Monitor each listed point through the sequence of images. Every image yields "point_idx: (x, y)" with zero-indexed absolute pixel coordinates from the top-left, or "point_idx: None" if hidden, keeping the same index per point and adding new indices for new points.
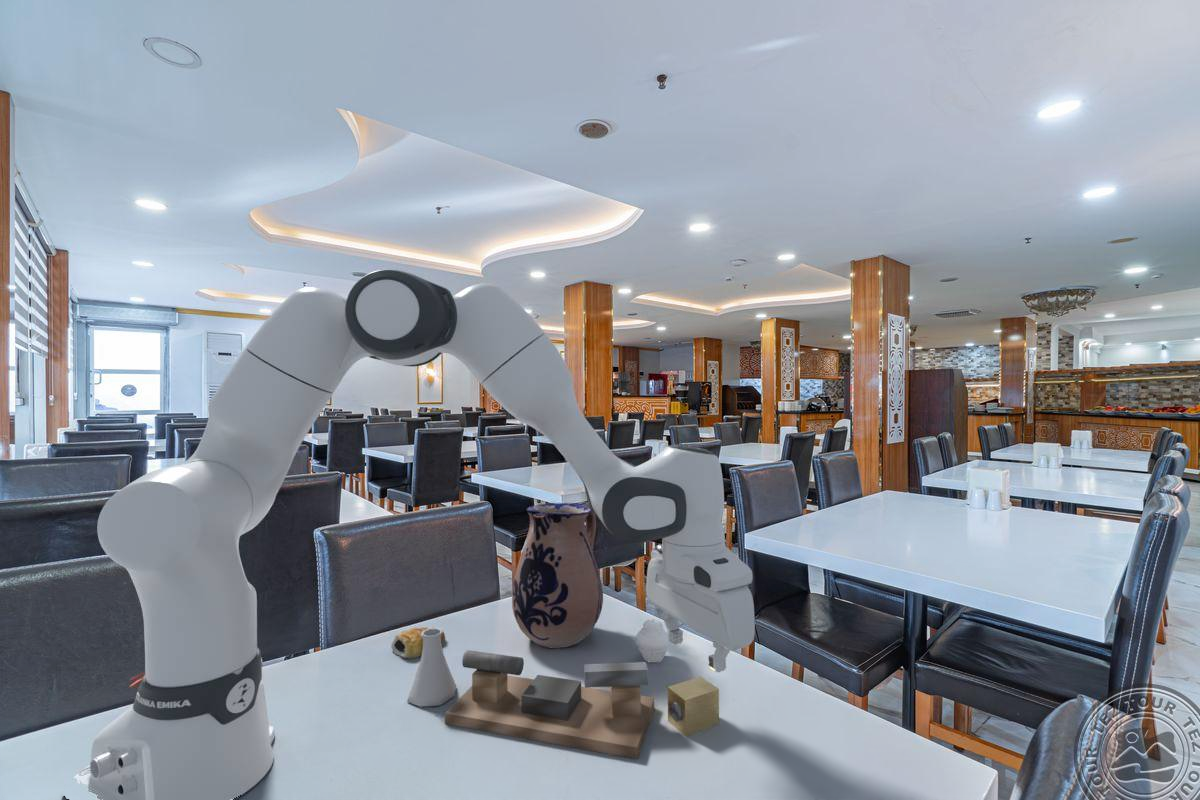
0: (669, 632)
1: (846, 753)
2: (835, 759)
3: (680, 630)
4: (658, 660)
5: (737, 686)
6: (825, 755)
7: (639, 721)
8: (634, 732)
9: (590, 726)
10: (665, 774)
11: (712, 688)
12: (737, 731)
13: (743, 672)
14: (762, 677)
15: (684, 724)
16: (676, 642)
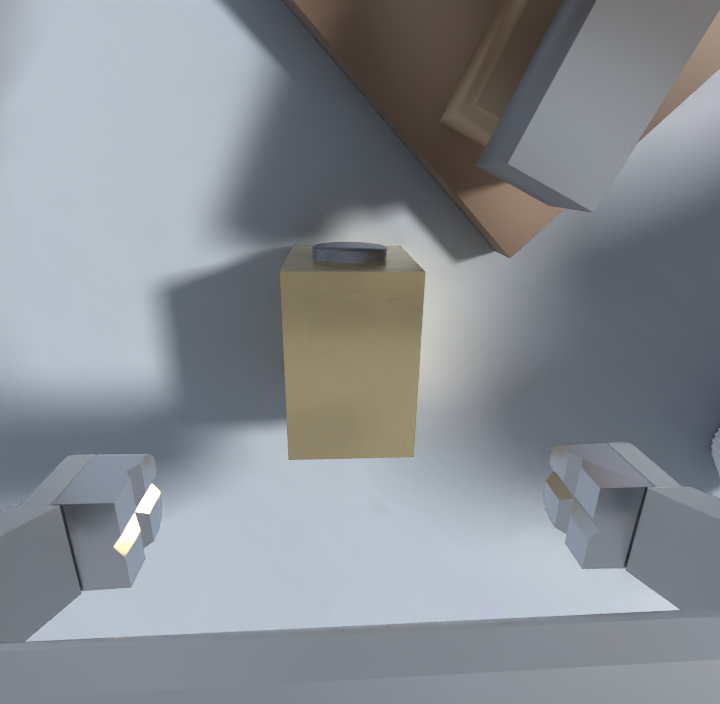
0: (646, 480)
1: None
2: None
3: (598, 559)
4: (716, 442)
5: (429, 558)
6: None
7: (405, 86)
8: (349, 10)
9: None
10: (128, 24)
11: (306, 440)
12: (234, 414)
13: (477, 615)
14: None
15: (293, 252)
16: (554, 466)
